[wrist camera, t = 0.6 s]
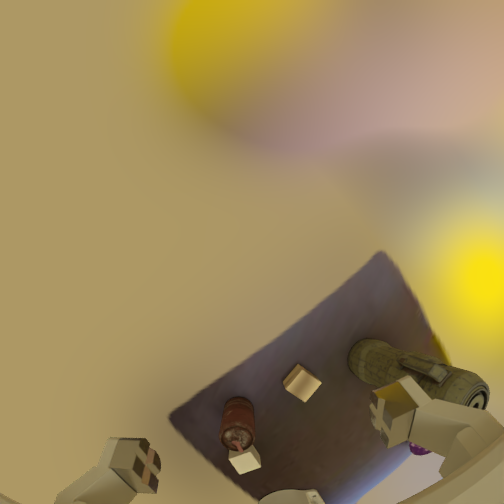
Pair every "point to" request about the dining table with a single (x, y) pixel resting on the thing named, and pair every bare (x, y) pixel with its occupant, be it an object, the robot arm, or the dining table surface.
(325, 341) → the dining table surface
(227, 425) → the can
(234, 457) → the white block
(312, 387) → the maple block
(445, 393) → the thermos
